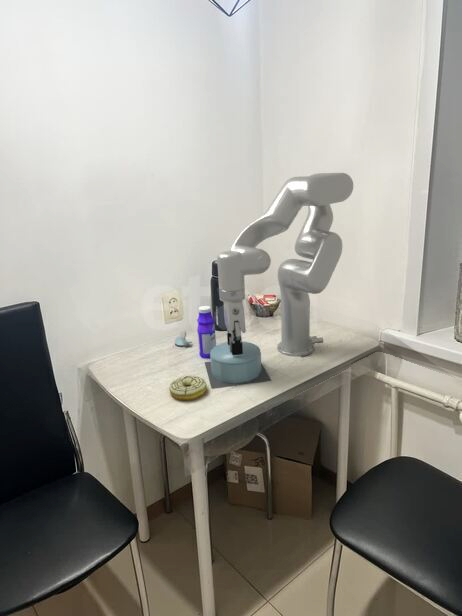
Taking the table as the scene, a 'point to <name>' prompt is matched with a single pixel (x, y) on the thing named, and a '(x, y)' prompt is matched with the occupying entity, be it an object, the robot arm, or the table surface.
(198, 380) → the decorated donut
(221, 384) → the mat
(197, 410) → the table surface
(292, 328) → the robot arm
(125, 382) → the table surface
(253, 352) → the squat blue cylinder
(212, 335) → the bottle
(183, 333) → the pacifier
